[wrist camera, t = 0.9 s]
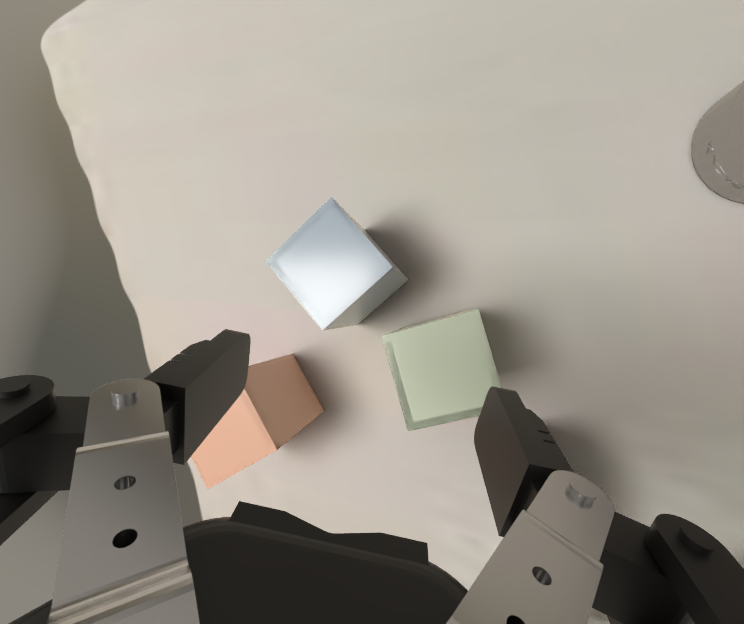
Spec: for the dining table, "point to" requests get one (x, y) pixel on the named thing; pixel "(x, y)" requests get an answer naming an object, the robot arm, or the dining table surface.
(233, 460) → the peach pink block
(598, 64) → the dining table surface
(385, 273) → the blue grey bevelled block
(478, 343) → the pale green bevelled block
